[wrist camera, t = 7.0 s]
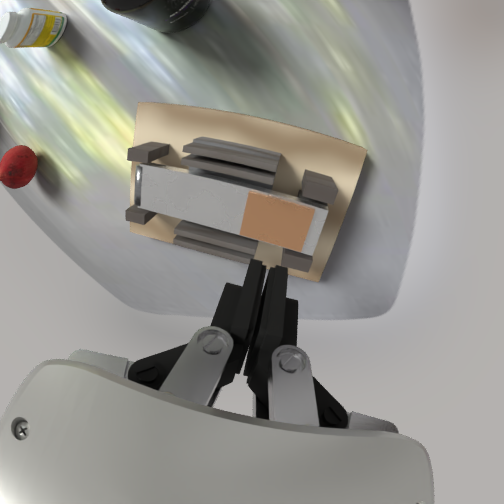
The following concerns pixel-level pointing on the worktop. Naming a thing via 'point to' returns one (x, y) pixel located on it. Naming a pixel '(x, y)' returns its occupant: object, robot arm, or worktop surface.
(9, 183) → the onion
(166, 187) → the strap
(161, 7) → the supplement bottle
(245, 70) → the worktop surface
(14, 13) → the supplement bottle
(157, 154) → the heatsink base
